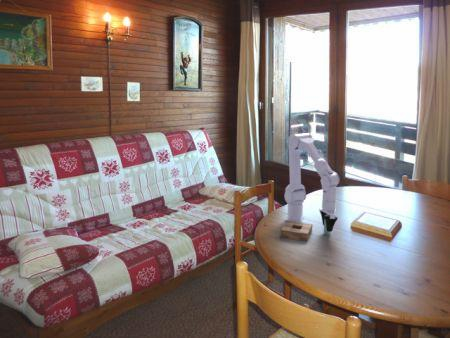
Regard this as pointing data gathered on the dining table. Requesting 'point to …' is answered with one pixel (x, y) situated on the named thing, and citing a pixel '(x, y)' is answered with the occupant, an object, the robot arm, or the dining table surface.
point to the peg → (326, 228)
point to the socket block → (296, 231)
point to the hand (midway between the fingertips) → (327, 228)
